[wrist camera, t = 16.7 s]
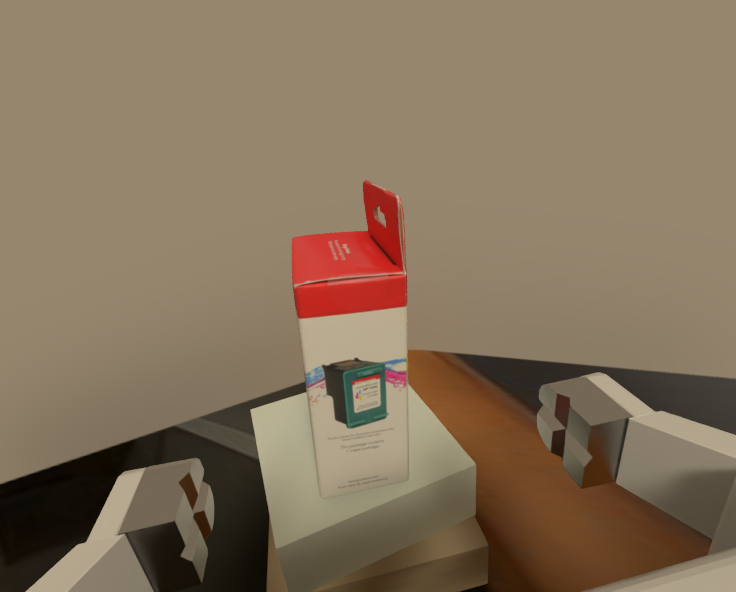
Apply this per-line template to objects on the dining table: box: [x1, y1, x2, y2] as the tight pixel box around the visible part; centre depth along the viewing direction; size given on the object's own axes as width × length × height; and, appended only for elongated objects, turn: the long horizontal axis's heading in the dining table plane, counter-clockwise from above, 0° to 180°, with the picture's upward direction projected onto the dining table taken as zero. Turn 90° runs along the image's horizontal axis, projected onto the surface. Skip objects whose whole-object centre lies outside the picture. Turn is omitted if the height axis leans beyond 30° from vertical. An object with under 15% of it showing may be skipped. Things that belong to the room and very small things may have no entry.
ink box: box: [292, 180, 409, 499], centre depth 21 cm, size 8×5×15 cm, turn 11°
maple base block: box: [267, 516, 489, 592], centre depth 27 cm, size 12×12×4 cm
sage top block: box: [251, 384, 476, 592], centre depth 26 cm, size 11×11×4 cm
